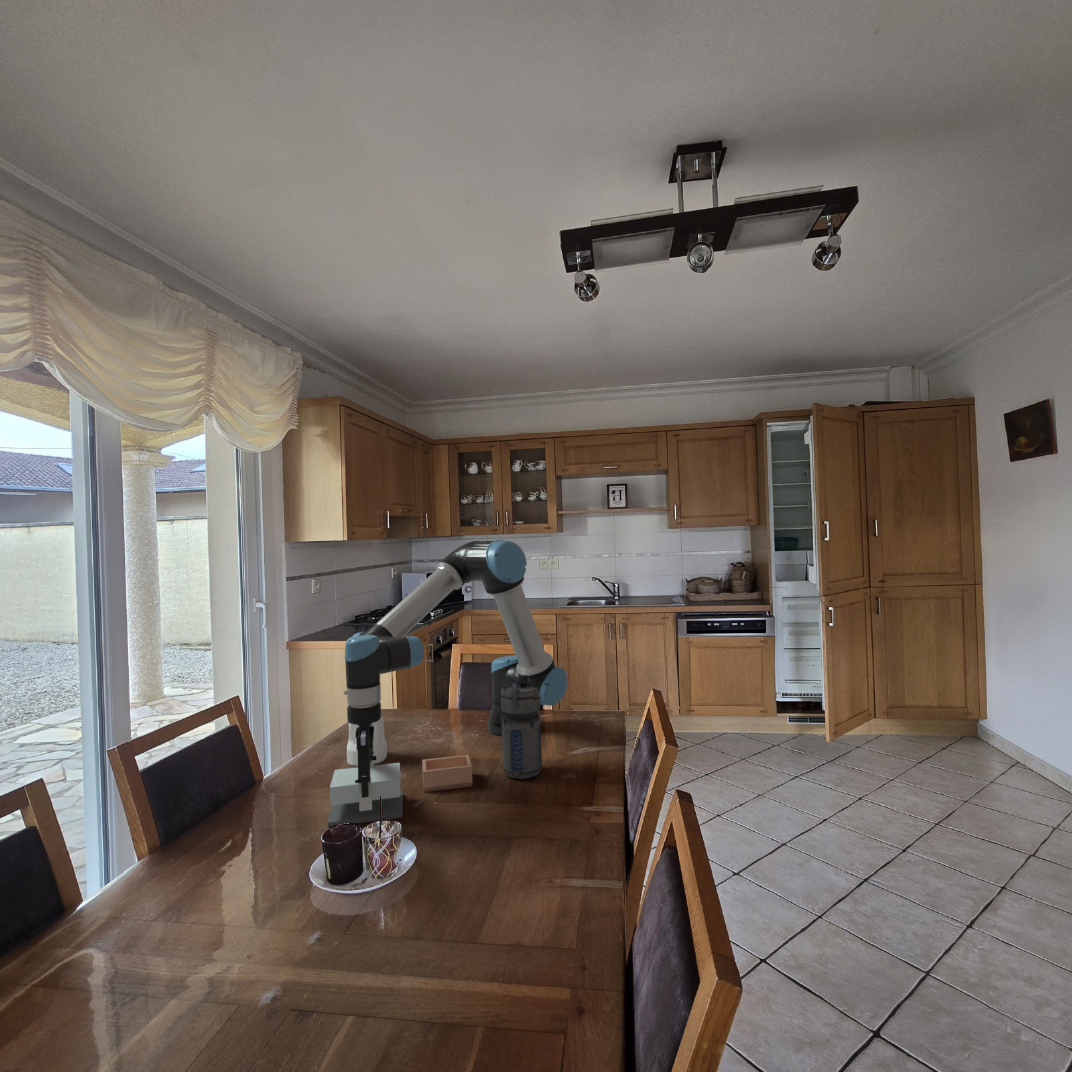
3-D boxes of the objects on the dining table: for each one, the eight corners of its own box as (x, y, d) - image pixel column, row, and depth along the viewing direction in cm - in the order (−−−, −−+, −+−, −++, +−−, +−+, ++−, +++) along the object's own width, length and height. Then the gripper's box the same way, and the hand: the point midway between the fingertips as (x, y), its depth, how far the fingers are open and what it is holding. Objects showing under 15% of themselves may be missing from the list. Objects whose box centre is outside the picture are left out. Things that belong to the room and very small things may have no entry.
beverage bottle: (547, 763, 162) (545, 671, 162) (536, 783, 149) (533, 684, 149) (512, 760, 165) (509, 670, 165) (497, 780, 152) (494, 682, 152)
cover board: (400, 779, 144) (399, 762, 144) (400, 796, 135) (399, 779, 135) (335, 786, 141) (334, 770, 141) (330, 805, 132) (329, 787, 131)
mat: (402, 794, 146) (402, 790, 146) (402, 817, 134) (402, 813, 134) (334, 803, 142) (334, 798, 142) (327, 827, 130) (327, 822, 130)
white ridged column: (380, 765, 164) (377, 675, 164) (341, 766, 164) (338, 676, 164) (390, 751, 175) (388, 666, 175) (354, 752, 175) (351, 667, 175)
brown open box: (469, 773, 157) (468, 754, 157) (472, 786, 149) (471, 766, 149) (422, 779, 154) (422, 759, 154) (423, 792, 147) (423, 771, 147)
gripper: (351, 692, 148) (354, 781, 148) (342, 720, 126) (345, 824, 126) (382, 689, 150) (385, 777, 150) (378, 716, 128) (382, 820, 128)
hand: (367, 799), depth 138 cm, fingers closed on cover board, 10 cm apart
